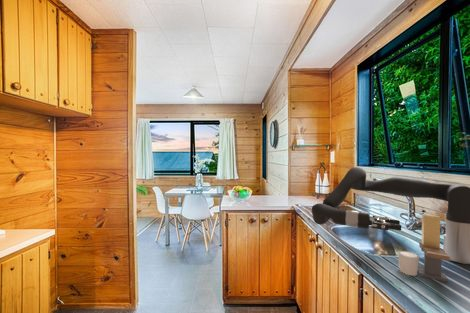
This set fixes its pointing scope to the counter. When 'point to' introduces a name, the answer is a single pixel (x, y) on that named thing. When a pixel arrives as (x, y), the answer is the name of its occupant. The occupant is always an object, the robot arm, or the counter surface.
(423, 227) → the block
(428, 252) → the beam
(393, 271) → the counter surface
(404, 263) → the beige short cylinder
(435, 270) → the beam stand
